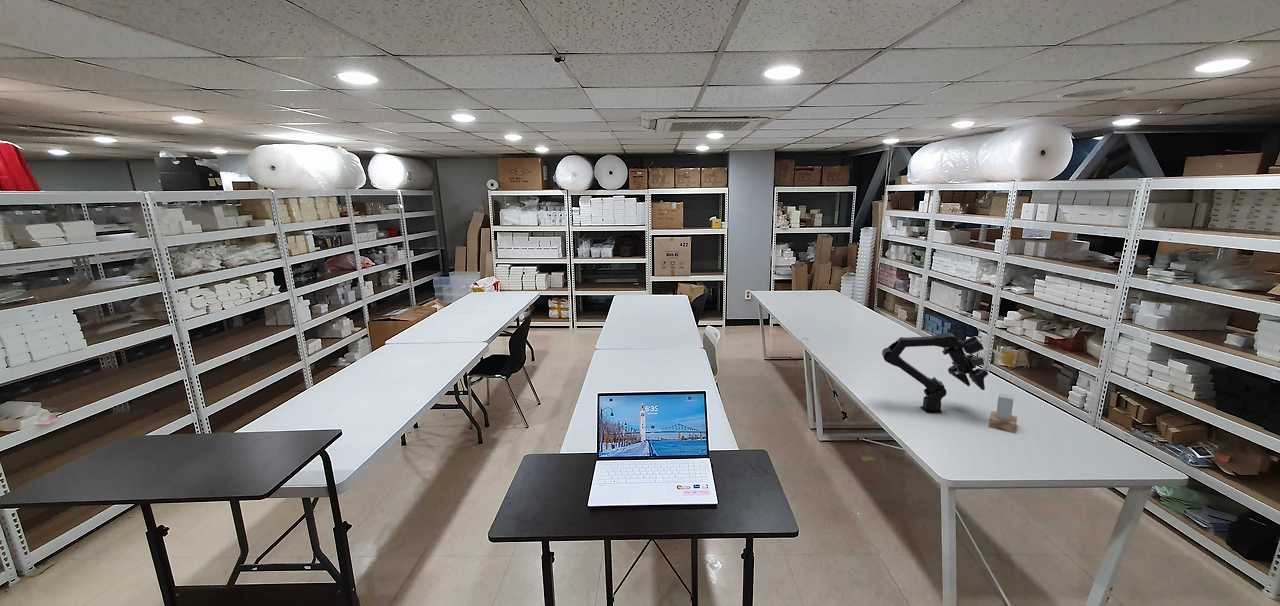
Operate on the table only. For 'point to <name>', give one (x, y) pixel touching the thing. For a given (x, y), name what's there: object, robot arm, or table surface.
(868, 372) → the table surface
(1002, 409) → the slate block
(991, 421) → the tan flat square block
